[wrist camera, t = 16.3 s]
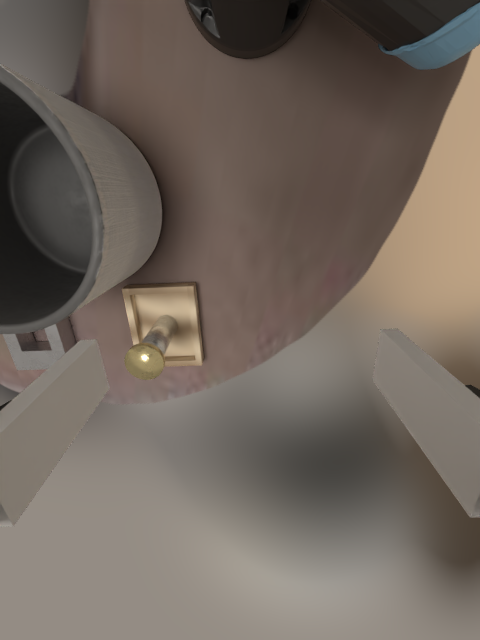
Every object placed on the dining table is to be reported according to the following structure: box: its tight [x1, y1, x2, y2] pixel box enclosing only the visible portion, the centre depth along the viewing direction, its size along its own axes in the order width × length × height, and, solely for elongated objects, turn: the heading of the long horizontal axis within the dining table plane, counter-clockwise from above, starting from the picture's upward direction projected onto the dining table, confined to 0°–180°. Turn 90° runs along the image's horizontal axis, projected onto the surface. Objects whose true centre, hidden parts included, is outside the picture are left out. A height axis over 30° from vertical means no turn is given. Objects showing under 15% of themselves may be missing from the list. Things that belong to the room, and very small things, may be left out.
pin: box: [124, 315, 178, 380], centre depth 43 cm, size 5×5×12 cm
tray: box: [122, 282, 204, 367], centre depth 48 cm, size 14×11×2 cm
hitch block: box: [3, 317, 76, 370], centre depth 48 cm, size 12×9×4 cm
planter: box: [0, 64, 162, 334], centre depth 32 cm, size 23×23×20 cm
